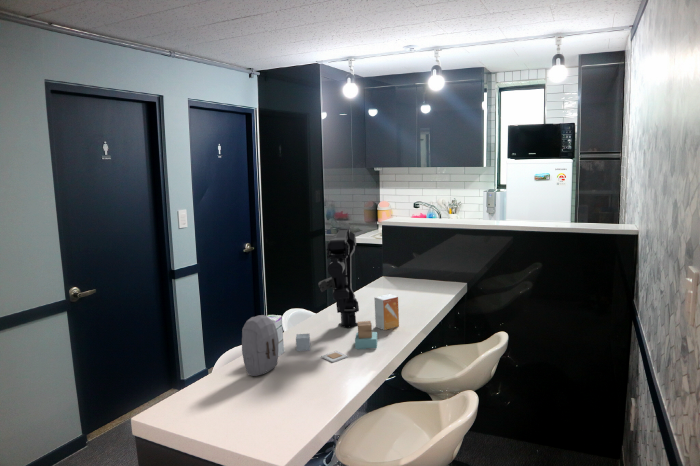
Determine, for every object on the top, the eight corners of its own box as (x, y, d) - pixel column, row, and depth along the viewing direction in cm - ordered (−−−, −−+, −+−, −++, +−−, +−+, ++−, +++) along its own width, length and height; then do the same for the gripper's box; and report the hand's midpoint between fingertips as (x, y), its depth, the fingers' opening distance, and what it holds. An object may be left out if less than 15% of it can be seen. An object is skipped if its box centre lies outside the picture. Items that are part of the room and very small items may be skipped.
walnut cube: (358, 334, 198) (357, 321, 197) (370, 333, 198) (370, 320, 198) (359, 338, 193) (358, 325, 192) (372, 337, 193) (371, 324, 193)
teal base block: (357, 342, 201) (356, 332, 200) (377, 341, 200) (377, 332, 199) (355, 349, 193) (354, 339, 192) (376, 349, 192) (376, 339, 191)
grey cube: (297, 346, 199) (296, 334, 198) (310, 345, 199) (309, 333, 198) (296, 351, 194) (295, 338, 193) (309, 350, 194) (309, 337, 193)
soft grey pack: (268, 362, 184) (264, 308, 182) (287, 365, 180) (283, 310, 177) (240, 378, 172) (234, 321, 169) (259, 382, 167) (254, 323, 165)
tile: (321, 357, 186) (321, 355, 186) (336, 352, 190) (336, 350, 190) (332, 362, 181) (332, 360, 181) (348, 357, 185) (348, 355, 185)
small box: (384, 330, 211) (383, 300, 209) (375, 327, 217) (373, 297, 215) (399, 326, 216) (398, 296, 214) (390, 322, 221) (389, 293, 219)
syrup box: (284, 351, 194) (282, 314, 192) (277, 357, 188) (274, 319, 186) (271, 350, 196) (268, 314, 194) (264, 356, 190) (261, 318, 188)
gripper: (319, 267, 209) (321, 304, 212) (318, 277, 191) (320, 318, 193) (346, 265, 210) (348, 302, 212) (348, 276, 191) (350, 316, 193)
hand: (341, 309), depth 203 cm, fingers open, 9 cm apart
